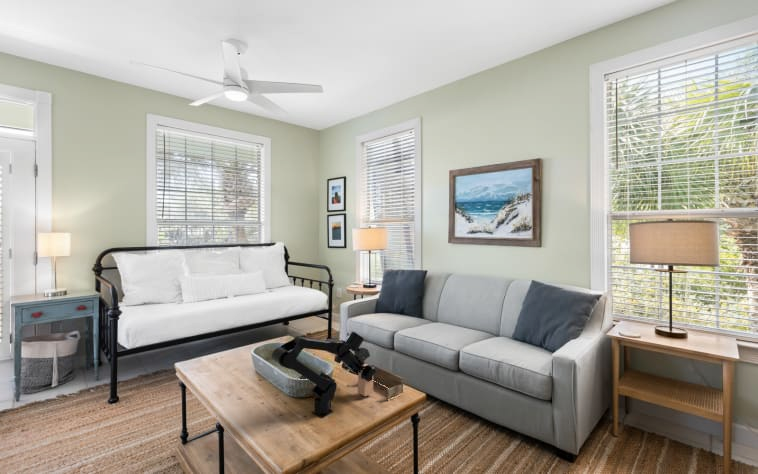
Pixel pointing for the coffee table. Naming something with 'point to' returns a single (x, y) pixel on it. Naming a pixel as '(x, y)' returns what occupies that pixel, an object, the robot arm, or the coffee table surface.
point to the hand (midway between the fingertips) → (368, 377)
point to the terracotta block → (364, 385)
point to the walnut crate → (389, 381)
